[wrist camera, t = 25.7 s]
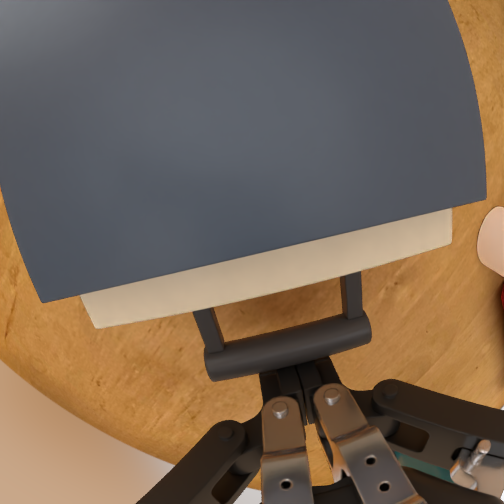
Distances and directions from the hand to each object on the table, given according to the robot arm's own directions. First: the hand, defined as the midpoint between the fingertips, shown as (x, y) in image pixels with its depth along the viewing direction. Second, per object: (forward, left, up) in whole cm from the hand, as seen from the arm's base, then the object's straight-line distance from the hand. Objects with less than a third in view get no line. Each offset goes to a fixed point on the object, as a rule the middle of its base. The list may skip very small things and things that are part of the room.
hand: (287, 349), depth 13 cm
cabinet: (0, +14, -2) cm, 14 cm away
